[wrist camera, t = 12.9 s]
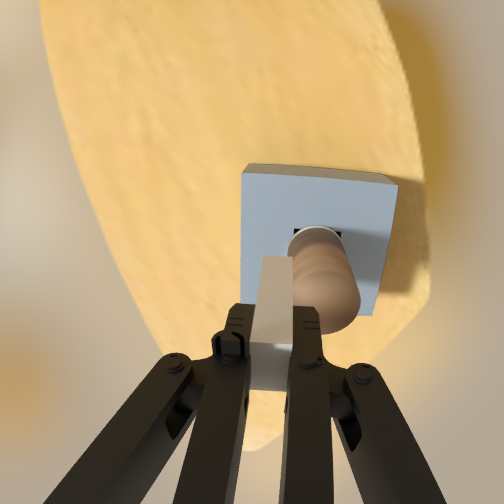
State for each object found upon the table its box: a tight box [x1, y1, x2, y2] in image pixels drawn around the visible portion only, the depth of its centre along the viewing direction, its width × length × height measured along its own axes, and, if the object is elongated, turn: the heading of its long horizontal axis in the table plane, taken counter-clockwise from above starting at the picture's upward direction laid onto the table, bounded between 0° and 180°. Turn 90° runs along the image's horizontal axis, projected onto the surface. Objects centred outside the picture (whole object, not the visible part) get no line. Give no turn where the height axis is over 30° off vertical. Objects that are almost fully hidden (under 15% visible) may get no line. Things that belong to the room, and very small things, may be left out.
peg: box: [287, 225, 361, 335], centre depth 31 cm, size 6×6×15 cm
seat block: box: [241, 164, 398, 316], centre depth 36 cm, size 16×16×6 cm
